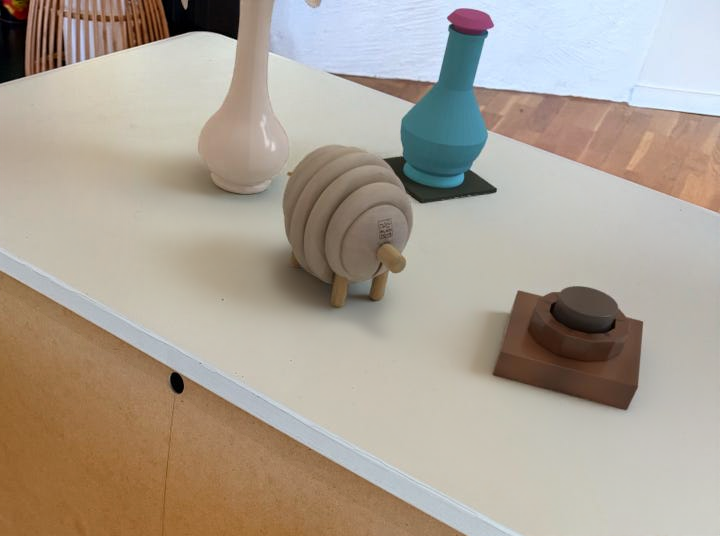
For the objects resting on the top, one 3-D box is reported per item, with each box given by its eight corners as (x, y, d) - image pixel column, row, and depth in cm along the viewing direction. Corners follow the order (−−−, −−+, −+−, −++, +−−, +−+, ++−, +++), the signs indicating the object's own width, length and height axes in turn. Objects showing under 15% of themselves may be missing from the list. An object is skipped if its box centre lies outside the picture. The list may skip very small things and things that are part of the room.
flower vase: (127, 175, 94) (127, -142, 75) (269, 145, 102) (301, -146, 83) (200, 229, 87) (221, -102, 69) (345, 193, 96) (398, -111, 77)
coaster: (496, 192, 100) (497, 188, 99) (421, 203, 96) (422, 199, 96) (443, 154, 105) (443, 151, 105) (370, 163, 101) (370, 159, 101)
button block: (633, 343, 81) (652, 301, 78) (626, 410, 74) (648, 366, 71) (510, 312, 82) (524, 270, 79) (492, 374, 75) (507, 330, 72)
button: (611, 314, 77) (620, 294, 75) (608, 342, 74) (616, 322, 72) (554, 300, 77) (562, 280, 76) (548, 327, 74) (556, 307, 73)
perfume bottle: (383, 154, 102) (415, -5, 91) (462, 158, 104) (503, 2, 93) (402, 190, 97) (438, 25, 85) (485, 194, 98) (532, 32, 87)
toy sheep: (332, 233, 89) (353, 109, 81) (440, 319, 81) (477, 190, 72) (239, 251, 85) (251, 123, 77) (343, 344, 76) (369, 210, 68)
